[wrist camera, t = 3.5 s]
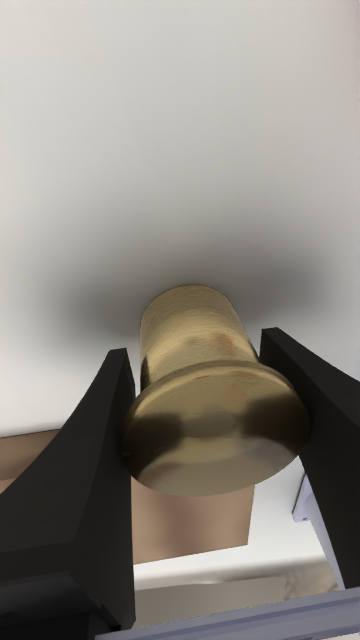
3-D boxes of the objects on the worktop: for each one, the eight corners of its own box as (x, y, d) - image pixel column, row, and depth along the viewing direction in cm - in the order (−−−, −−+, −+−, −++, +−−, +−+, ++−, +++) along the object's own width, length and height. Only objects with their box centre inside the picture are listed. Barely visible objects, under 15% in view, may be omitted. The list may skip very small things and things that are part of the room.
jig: (245, 401, 17) (260, 440, 15) (238, 510, 25) (247, 544, 23) (-37, 443, 16) (-62, 490, 14) (48, 541, 24) (40, 581, 22)
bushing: (250, 266, 12) (328, 367, 7) (244, 363, 15) (296, 482, 10) (117, 282, 12) (101, 399, 7) (139, 378, 15) (139, 507, 10)
